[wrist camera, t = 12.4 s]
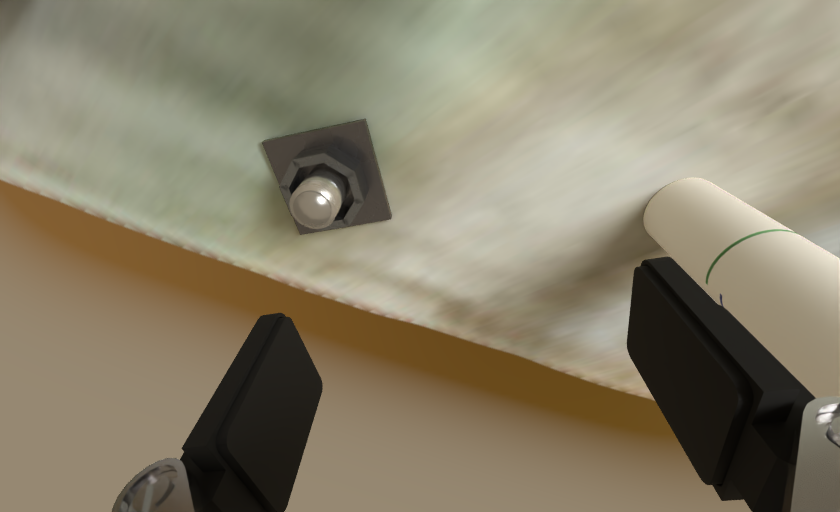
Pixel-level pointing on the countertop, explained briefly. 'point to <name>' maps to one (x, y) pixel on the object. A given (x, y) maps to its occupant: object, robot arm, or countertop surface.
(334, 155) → the ring
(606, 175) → the countertop surface
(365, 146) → the grey peg base
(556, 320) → the countertop surface
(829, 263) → the cylindrical container
